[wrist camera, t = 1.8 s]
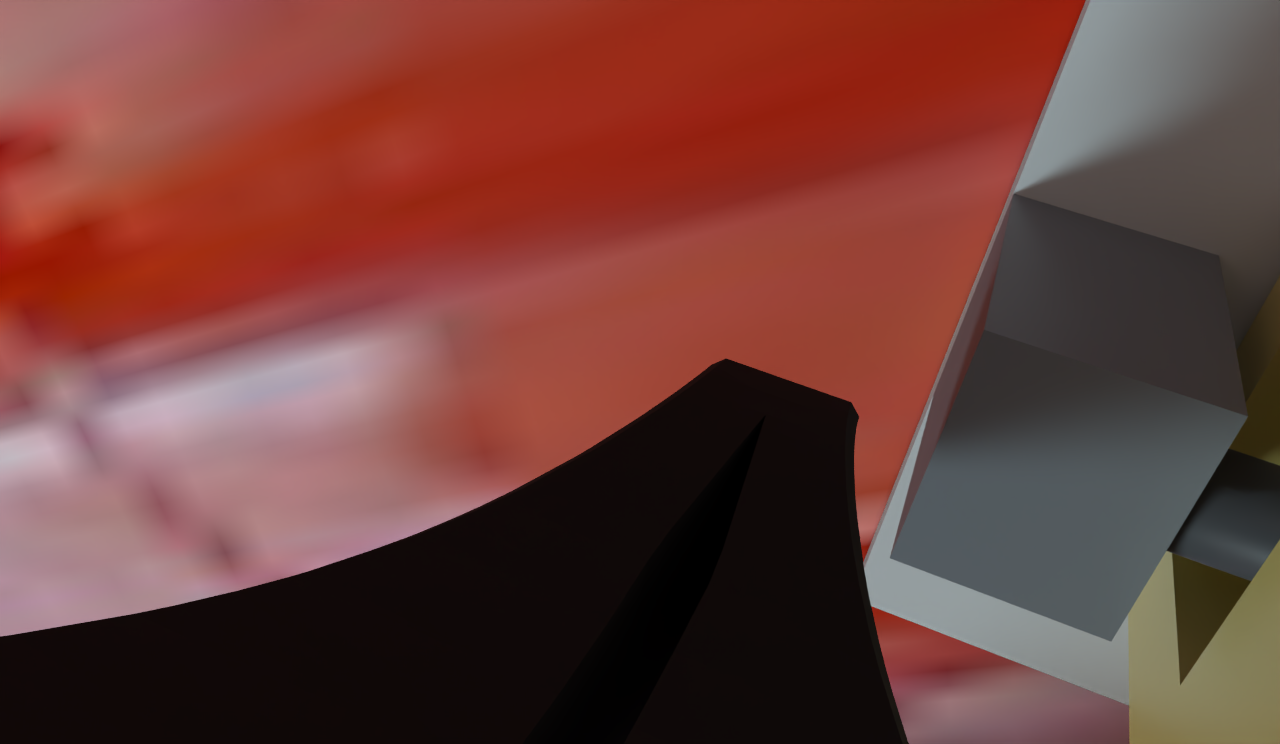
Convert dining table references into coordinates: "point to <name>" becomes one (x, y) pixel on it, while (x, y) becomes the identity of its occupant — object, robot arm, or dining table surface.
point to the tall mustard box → (1215, 606)
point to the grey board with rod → (1103, 352)
